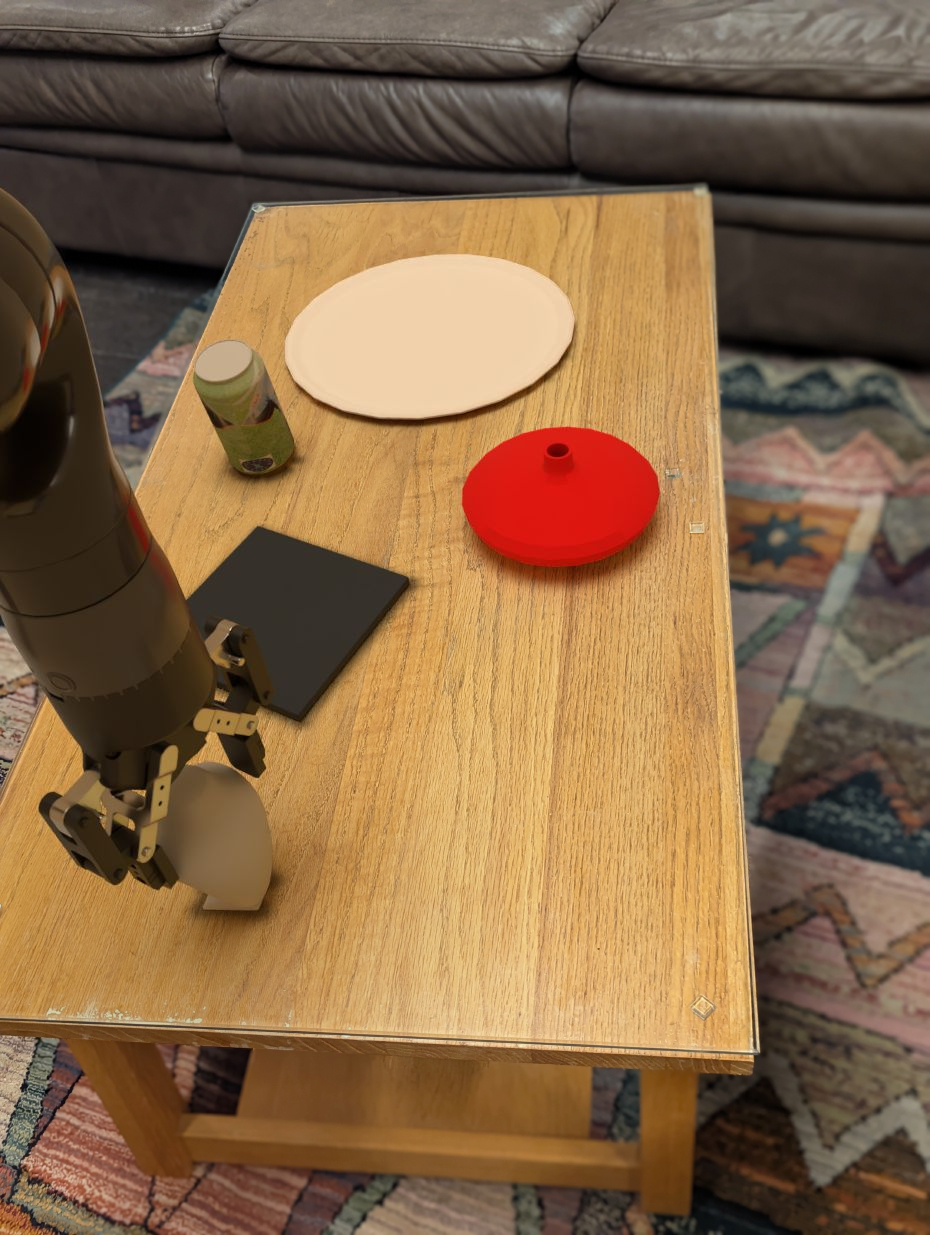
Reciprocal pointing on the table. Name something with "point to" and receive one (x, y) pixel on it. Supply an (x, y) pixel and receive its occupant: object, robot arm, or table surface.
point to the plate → (429, 336)
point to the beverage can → (243, 406)
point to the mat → (297, 610)
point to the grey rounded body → (218, 836)
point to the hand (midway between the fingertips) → (207, 822)
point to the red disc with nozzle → (560, 496)
